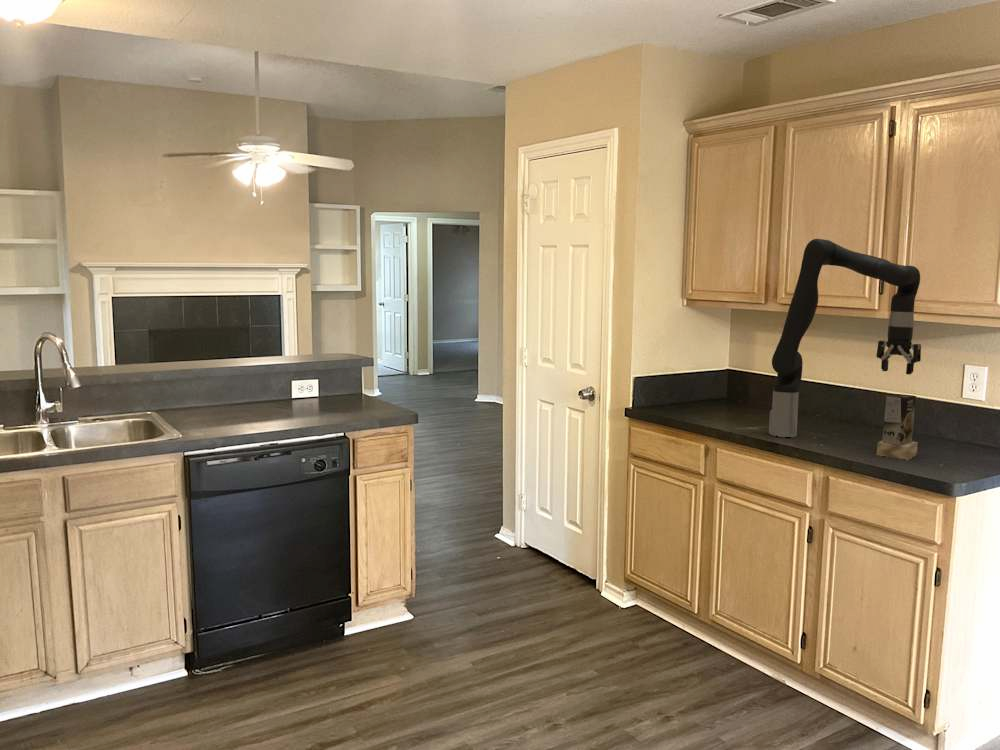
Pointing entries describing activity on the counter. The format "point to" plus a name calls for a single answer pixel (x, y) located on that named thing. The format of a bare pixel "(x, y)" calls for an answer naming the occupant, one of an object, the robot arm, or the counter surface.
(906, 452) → the maple block
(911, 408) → the coffee box
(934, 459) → the counter surface
